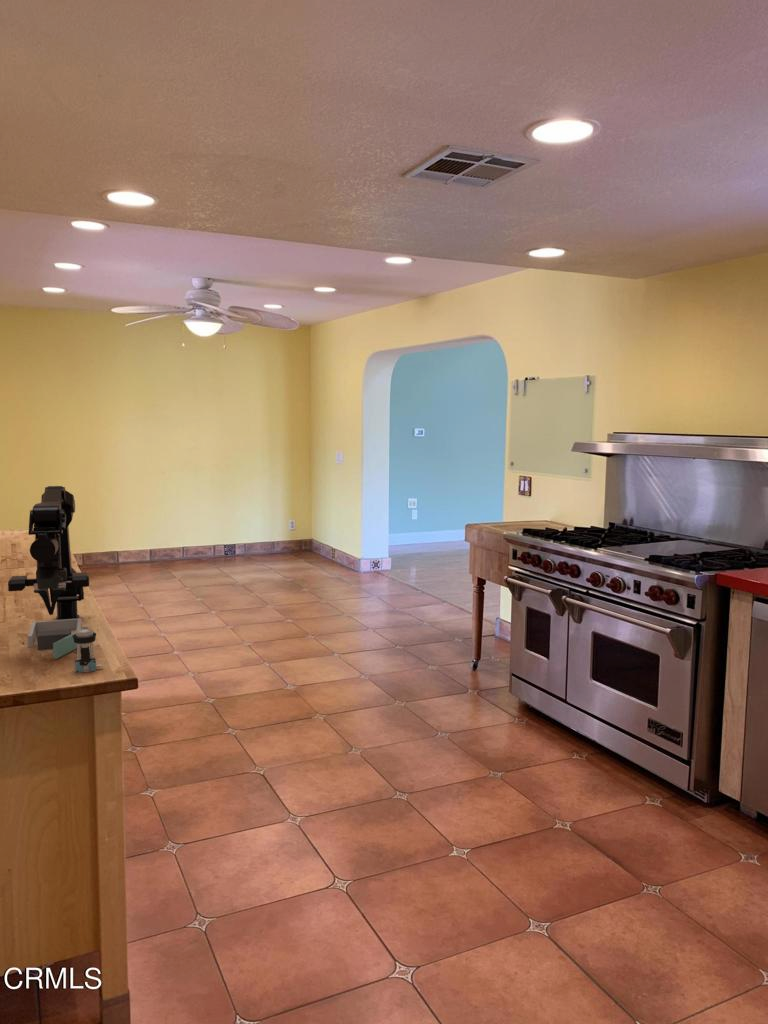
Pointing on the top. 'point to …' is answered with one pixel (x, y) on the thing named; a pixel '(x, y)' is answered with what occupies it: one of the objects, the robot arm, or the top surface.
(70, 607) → the robot arm
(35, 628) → the frame
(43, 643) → the block
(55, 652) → the bar
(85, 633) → the push button
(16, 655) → the top surface
